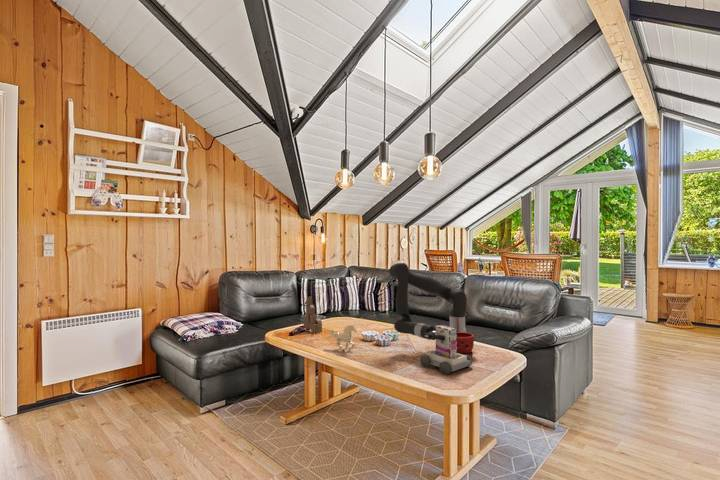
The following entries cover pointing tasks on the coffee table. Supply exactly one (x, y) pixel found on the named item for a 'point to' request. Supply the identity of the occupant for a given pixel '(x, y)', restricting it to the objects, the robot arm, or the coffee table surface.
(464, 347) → the plant pot
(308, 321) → the wooden toy
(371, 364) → the coffee table surface
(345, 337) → the unicorn
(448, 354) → the candy bar box
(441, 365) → the toy car chassis
